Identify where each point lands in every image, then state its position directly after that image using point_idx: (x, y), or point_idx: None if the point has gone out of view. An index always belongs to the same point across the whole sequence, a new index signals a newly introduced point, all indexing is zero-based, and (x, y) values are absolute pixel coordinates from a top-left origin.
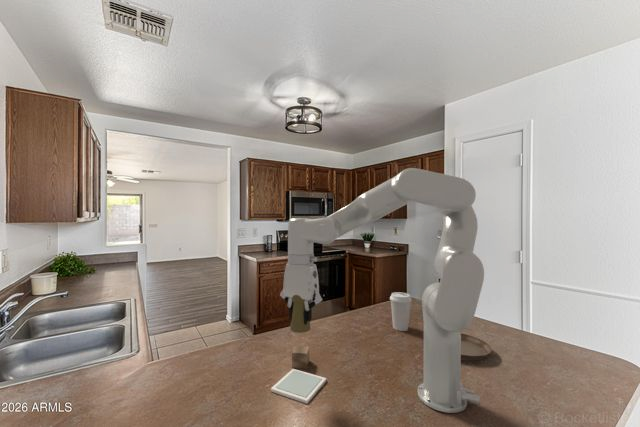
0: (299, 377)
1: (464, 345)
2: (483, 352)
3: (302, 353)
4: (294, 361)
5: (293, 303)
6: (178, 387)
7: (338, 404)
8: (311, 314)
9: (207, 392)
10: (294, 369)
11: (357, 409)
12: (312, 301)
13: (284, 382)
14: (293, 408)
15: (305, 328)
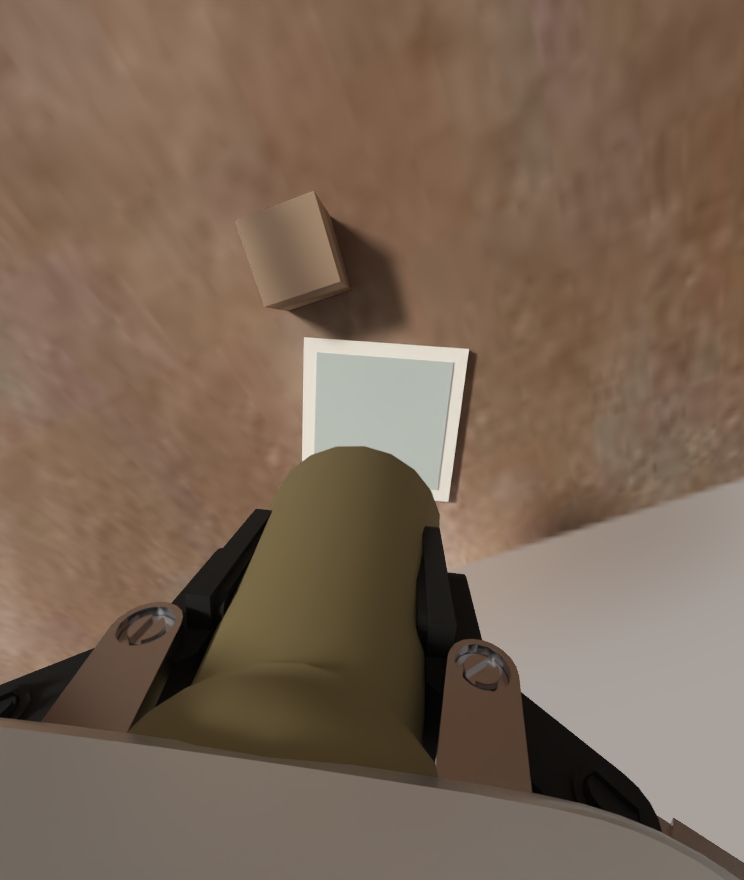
0: (363, 391)
1: None
2: None
3: (317, 288)
4: (290, 306)
5: (168, 692)
6: (47, 561)
7: (549, 464)
8: (472, 604)
9: (137, 552)
10: (313, 340)
11: (619, 465)
12: (528, 765)
13: (327, 443)
14: None
15: None
